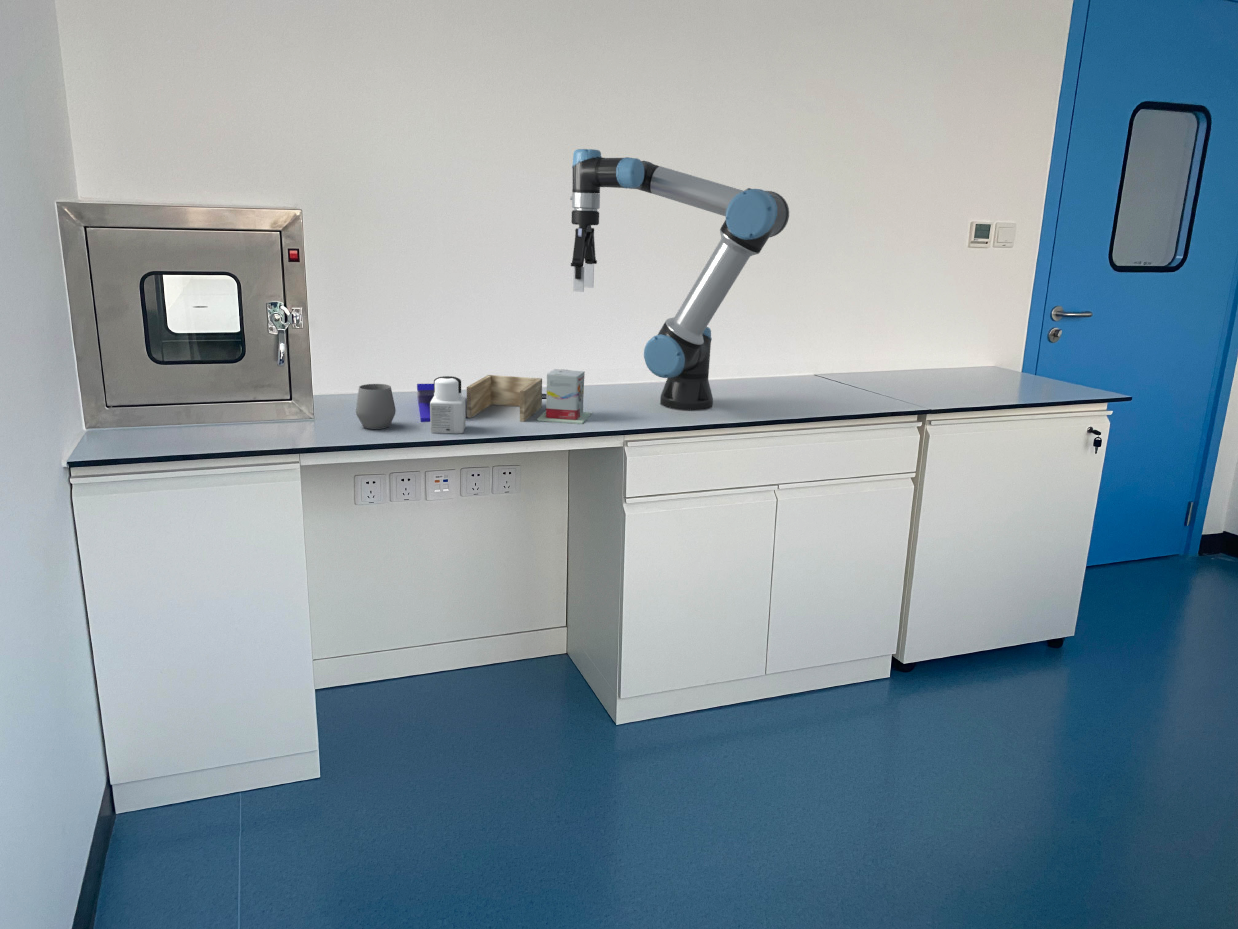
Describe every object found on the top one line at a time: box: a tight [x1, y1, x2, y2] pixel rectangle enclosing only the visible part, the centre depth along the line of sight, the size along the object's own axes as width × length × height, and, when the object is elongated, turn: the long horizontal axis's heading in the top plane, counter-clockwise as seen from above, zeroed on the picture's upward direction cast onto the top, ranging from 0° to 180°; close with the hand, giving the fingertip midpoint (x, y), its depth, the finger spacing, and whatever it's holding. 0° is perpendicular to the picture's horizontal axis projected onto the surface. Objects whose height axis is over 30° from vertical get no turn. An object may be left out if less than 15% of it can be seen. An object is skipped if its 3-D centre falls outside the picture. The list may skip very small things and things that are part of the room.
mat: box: [536, 411, 592, 425], centre depth 232 cm, size 12×12×1 cm
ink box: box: [545, 368, 586, 420], centre depth 231 cm, size 9×9×12 cm
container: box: [429, 375, 467, 434], centre depth 214 cm, size 8×8×13 cm
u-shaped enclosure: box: [466, 374, 543, 422], centre depth 235 cm, size 15×18×8 cm
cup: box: [355, 383, 397, 430], centre depth 214 cm, size 10×9×10 cm
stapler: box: [416, 383, 434, 423], centre depth 235 cm, size 12×28×10 cm, turn 14°
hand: (583, 289), depth 243 cm, fingers open, 13 cm apart
